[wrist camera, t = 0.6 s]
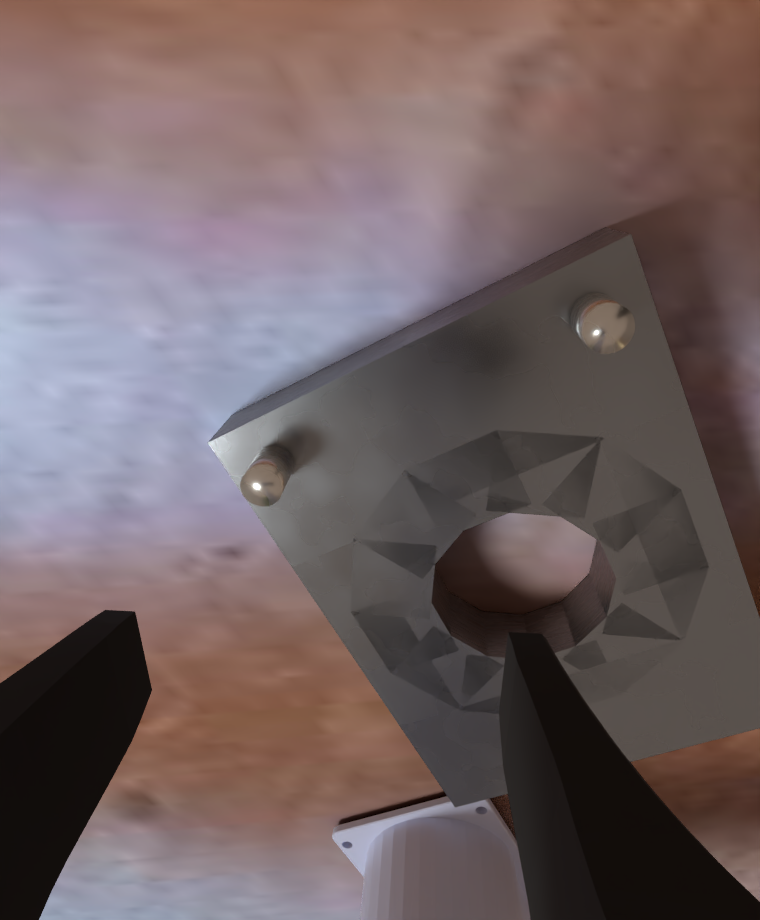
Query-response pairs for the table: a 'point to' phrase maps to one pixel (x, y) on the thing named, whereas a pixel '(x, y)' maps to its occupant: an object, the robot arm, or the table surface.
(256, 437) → the jig
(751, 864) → the table surface
